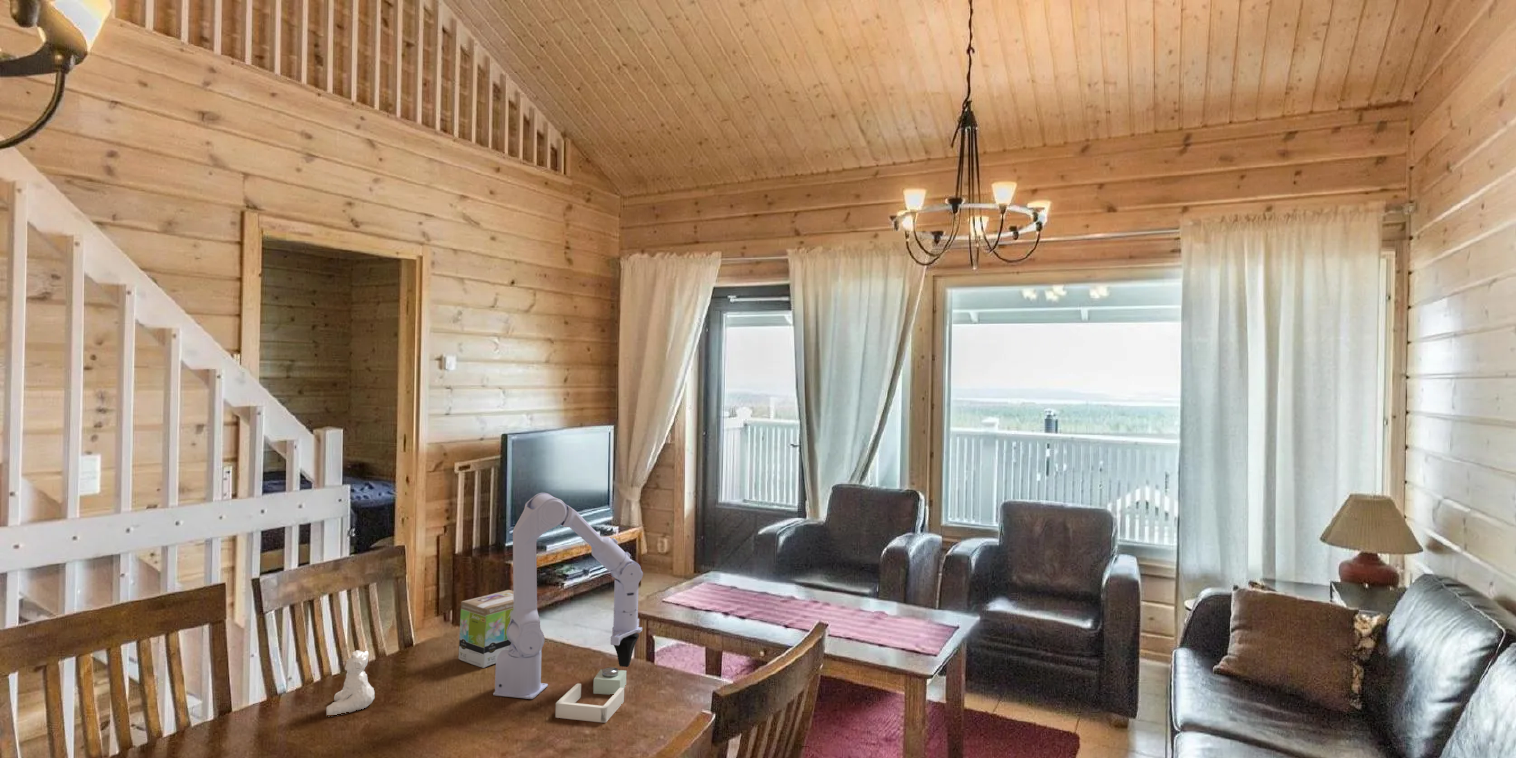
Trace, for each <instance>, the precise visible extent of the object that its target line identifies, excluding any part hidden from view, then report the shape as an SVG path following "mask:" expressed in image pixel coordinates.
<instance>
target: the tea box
mask: <svg viewBox="0 0 1516 758" xmlns="http://www.w3.org/2000/svg"><path fill="white" fill-rule="evenodd" d="M513 609H514V599H513V590H512V589H511V590H510V589H506V590H502V591H498V592H494V593H490V594H486V595H482V596H478V597H474V598H469V599H466V600H462V601H461V602H460V616H459V617H460V619H459V640H458V641H459V644H458V660H459V661H462V662H464V663H468V664H471V665H473V666H475V667H479V668H481V669H484V668H486V667H490V666H491V665H492V666H493V665H494V664H495V665H496V661H497V658H498V655H499V654H500V652H501V651H503V650H508V649H509V647H510V645H511V642H510V641H509V640H508V638H507V634H506V631H507V627H508V625H509V623H510V618H511V612H512V611H513Z"/></svg>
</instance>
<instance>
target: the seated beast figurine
mask: <svg viewBox="0 0 1516 758" xmlns="http://www.w3.org/2000/svg"><path fill="white" fill-rule="evenodd" d="M369 656H370V653H369V651H368V650H365V651H362V650H360V649H358V650H357V649H356V650H355V651H352V653H351V656H350V657H349V658H348V659H346V665H345V667H344V670H345V671H346V673H345V679H344V682H343V686H342V689H341V690H340V691H337V692H336V693H335V694H334V698H333V699H334V700H333V701H334V702H333V701H332V703H331V704H329V705H327V706H326V707H325V708H326V709H325V710H326V716H327V715H337V714H341V713H345V714H347V713H346V712H349V713H353V712H357V711H360V710H361V709H362V710H365V709H366V708H368V707H369V705H371V704H372V703H373V701H374V700H375V694H376V693H375V690H374V689H375V687H373V686H372V685H371V684H370V682H369V679H368V674H367V673H366V671H365V669H366V667H367V666H368V664H369V663H368V662H369ZM364 708H365V709H364ZM356 710H357V711H356ZM341 715H342V714H341ZM337 716H338V715H337Z"/></svg>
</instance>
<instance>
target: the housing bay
mask: <svg viewBox="0 0 1516 758" xmlns="http://www.w3.org/2000/svg"><path fill="white" fill-rule="evenodd" d="M581 698H582V683H576V684H575V685H574V686H573V687H572V688H570V689H569V690H568V691H567V692H566V693H565V694H564V695H563V696H562V697H560V698H559V700H557V701H556V702H555V714H554V715H555V718H557V719H559V718H560V719H565V720H566V719H567V720H575V721H576V720H577V721H586V722H594V723H603V724H604V723H605V724H606V723H607V722H608V720H610V719H611V717H612V716H613V715H614V714H615V712H617V710H618V709H619V708H620V707H621V706H622V705H623V703H624V702H625V687H624V688H619V689H618V690H617V691H616V692H615V694H614V695H612V696H611V697H610V698H609V699H608V700H607V701H606V702H605V703H604V704H603V705H597V704H588V703H578V702H577V701H579V700H580V699H581ZM621 704H622V705H621Z"/></svg>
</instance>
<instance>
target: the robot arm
mask: <svg viewBox="0 0 1516 758" xmlns="http://www.w3.org/2000/svg"><path fill="white" fill-rule="evenodd" d="M557 526H562V527H565V528H570V529H571V530H572V531H573V532H575V534H576V535H577V536H578V537H580V538H581V539H582V540H583V541H584V542H585V543H587V545H589V546H590V547H591V550H590V551H591V552H590V553H591V556H592V557H593V558H594V559H595V560H597V562H598V563H600V564H601V566H603V568H605V569H606V570H607V571H608V572H609V573H610V575H611V577H612V578H614V590H613V592H614V593H613V623H612V633H611V636H610V646H614V647H613V648H614V649H615V653H616V656H617V661H618V665H619V667H622V668H623V667H624V668H628V667H629V666H630V665H631V661H632V656H633V653H634V649H635V645H636V643H637V641H638V640H639V637H640V634H639V633H641V632H642V631H643V627H642V626H640V618H639V617H638V616H639V583H640V582H641V580H642V579H643V576H644V572H643V571H642V570H643V569H641V568H642V567H641V565H640V564H639V563H638V562H637V561H635V560H634V559H631V555H632V554H630V553H629V551H624V549H623V548H622V547H620V546H619V544H618V543H619V541H618V540H617V539H616V538H614V537H612V538H611V537H610V536H601V535H600V534H599V533H598V532H597V531H596V530H595V528H594V527H592V525H590V524H589V523H588V521H586V520H585V518H583V516H582V515H580V513H579V512H578V511H577V510H575V509H574V508H573V507H571V506H570V505H568V504H566V503H565V502H564V501H563V500H562V499H560V498H557V497H554V496H553V495H552V494H551V493H547V492H538V493H537V494H535V495H534V496H532V497H531V498H530V499H529V500H528V501H527V502H525V504H524V509H523V511H522V513H521V515H520V517H519V518H518V520H517V522H516V524H515V526H514V527H513V528H512V529H513V530H512V571H513V573H512V577H513V578H512V581H513V585H512V587H513V590H512V591H513V599H514V609H513V611H512V612H511V618H510V623H509V625H508V627H507V631H506V634H507V638H508V640H509V641H510V642H511V645H510V647H509V649H508V650H503V651H501V652H500V654H499V655H498V658H497V661H496V663H495V672H494V673H495V675H494V676H495V677H494V678H495V679H494V691H493V693H492V694H493V696H497V697H505V698H506V697H507V698H508V697H509V698H518V699H526V700H527V699H528V700H533V699H535V698H536V697H537V696H538V695H540V694H541V693H542V692H543V691H544V690H545V689H546V688H547V687H548V686H549V684H548V683H543V682H542V649H543V648H544V644H545V639H546V637H545V635H544V633H543V630H542V628H541V620H540V616H539V611H538V586H537V585H538V583H537V581H538V579H537V578H538V577H537V575H538V574H537V573H538V571H537V563H538V562H537V559H538V558H537V540H538V539H539V538H541V537H542V536H543V535H544V533H545V532H547V531H550V530H551V529H554V528H555V527H557Z"/></svg>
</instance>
